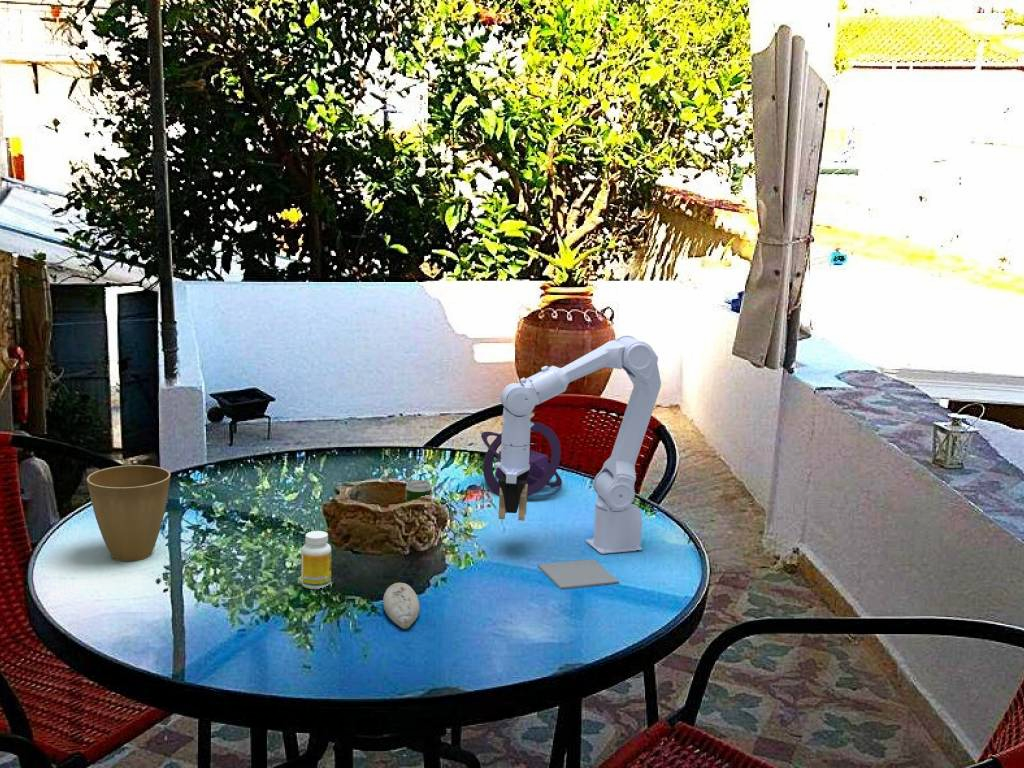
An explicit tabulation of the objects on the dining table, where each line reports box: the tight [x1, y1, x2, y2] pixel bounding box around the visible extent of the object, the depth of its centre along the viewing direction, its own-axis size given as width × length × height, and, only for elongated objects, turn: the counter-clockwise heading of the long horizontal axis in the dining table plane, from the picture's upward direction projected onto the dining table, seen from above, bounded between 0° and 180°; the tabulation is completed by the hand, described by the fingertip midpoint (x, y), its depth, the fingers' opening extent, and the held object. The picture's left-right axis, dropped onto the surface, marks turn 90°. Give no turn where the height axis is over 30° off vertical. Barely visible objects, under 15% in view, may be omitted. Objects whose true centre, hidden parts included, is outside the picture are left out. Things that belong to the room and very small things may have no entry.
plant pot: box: [86, 464, 172, 562], centre depth 191 cm, size 15×15×16 cm
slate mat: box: [537, 559, 620, 590], centre depth 192 cm, size 12×12×1 cm
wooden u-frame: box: [498, 484, 528, 522], centre depth 202 cm, size 5×5×6 cm
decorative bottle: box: [480, 411, 563, 498], centre depth 245 cm, size 22×21×25 cm
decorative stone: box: [382, 582, 420, 630], centre depth 171 cm, size 6×16×3 cm, turn 14°
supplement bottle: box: [300, 530, 332, 590], centre depth 181 cm, size 5×5×10 cm
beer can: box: [404, 479, 432, 501], centre depth 207 cm, size 5×5×12 cm
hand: (512, 508), depth 202 cm, fingers closed on wooden u-frame, 5 cm apart
